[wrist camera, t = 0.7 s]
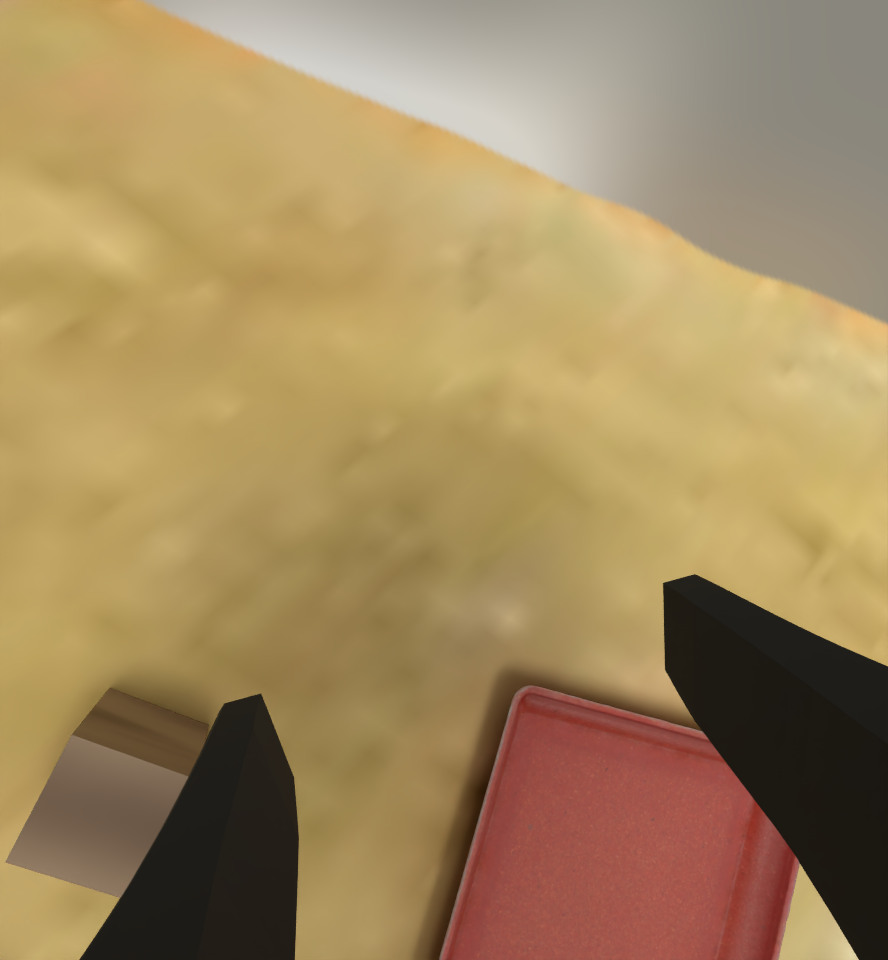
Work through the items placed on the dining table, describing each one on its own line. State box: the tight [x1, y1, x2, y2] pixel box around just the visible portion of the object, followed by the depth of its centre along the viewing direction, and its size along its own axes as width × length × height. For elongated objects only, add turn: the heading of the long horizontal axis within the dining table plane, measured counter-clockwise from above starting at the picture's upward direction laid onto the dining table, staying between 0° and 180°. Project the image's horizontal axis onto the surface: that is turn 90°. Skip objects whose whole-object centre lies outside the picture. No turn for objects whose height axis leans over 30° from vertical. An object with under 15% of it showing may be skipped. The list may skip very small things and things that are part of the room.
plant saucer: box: [439, 685, 800, 960], centre depth 34 cm, size 18×18×3 cm
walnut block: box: [6, 688, 209, 898], centre depth 26 cm, size 4×4×6 cm
